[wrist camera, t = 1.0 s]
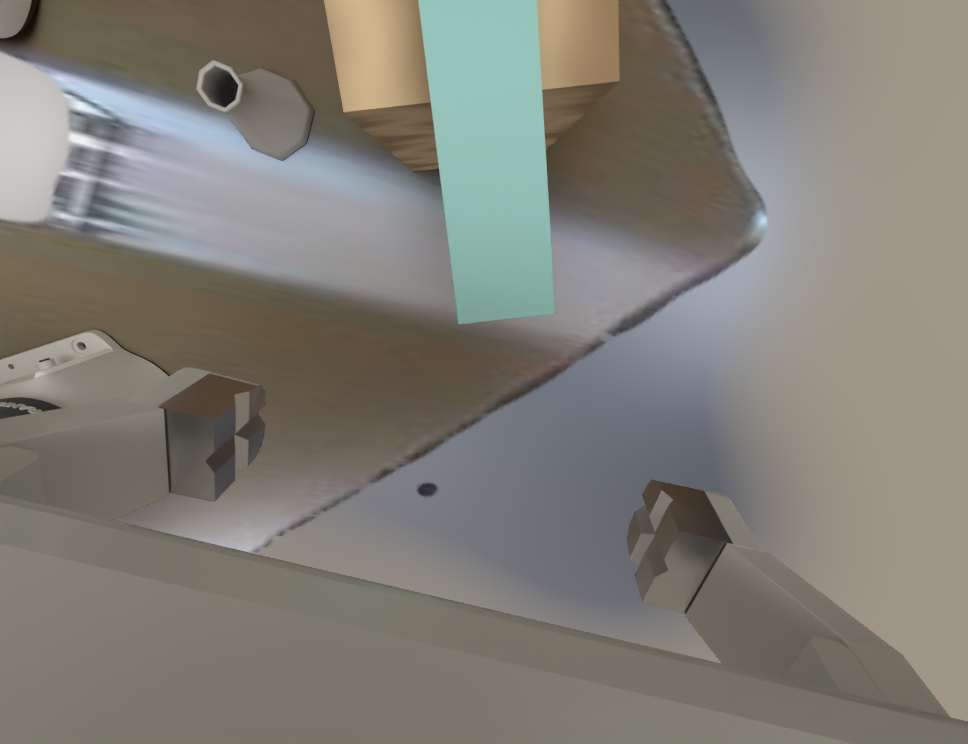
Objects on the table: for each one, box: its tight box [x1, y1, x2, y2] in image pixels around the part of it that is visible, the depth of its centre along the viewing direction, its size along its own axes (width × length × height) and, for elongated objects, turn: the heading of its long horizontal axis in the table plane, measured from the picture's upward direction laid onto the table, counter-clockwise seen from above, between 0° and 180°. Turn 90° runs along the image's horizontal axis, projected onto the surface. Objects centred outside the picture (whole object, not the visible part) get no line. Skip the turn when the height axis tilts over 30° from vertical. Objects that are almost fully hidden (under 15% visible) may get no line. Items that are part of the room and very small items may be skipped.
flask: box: [196, 60, 314, 161], centre depth 39 cm, size 7×7×10 cm
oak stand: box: [324, 0, 619, 172], centre depth 31 cm, size 12×11×26 cm
